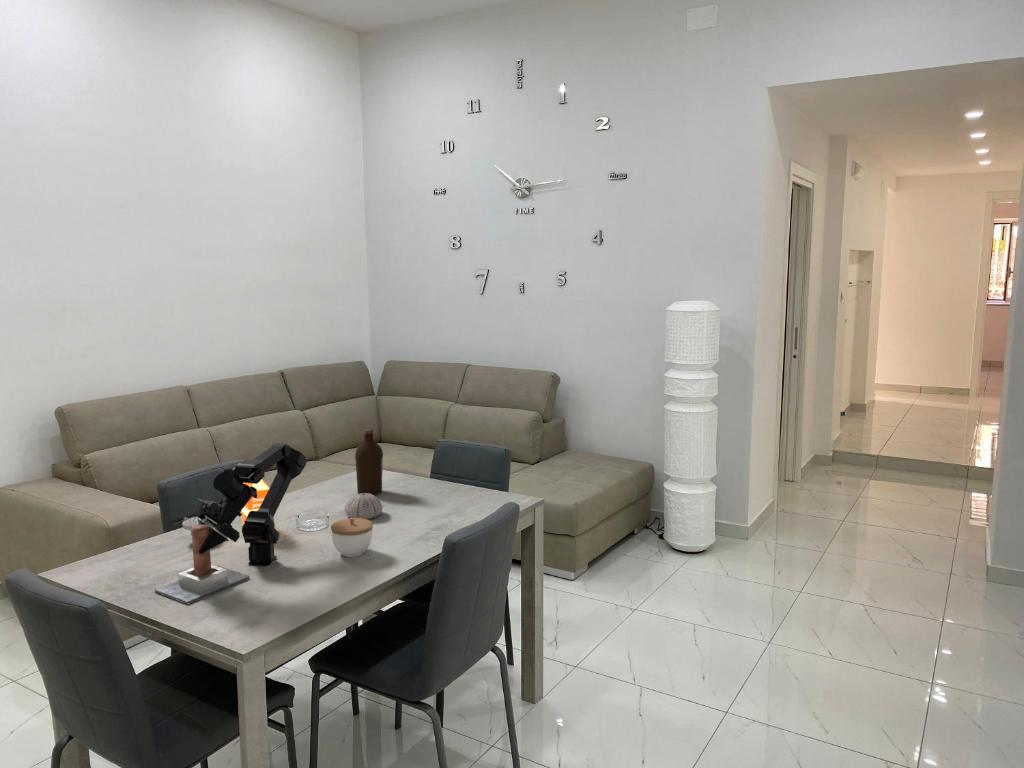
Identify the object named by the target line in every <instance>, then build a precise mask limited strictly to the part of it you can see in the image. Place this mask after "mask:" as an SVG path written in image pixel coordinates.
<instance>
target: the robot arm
mask: <svg viewBox="0 0 1024 768" xmlns="http://www.w3.org/2000/svg"><path fill="white" fill-rule="evenodd" d="M274 465H275V466H276V471H277V472H276V475H275V476H274V479H273V480H272V482H271V484H270V486H269V490H268V492H267V494H266V496H265V498H264V500H263V502H262V504H261V506H260V508H259V509H258V510H257V511H250V512H249V513H248V516H247V518H246V519H245V520H244V522H245V523H244V524H243V526H242V525H241V533H242V538H243V540H244V541H243V542H244V543H246V544H249V546H248V549H247V550H248V563H247V565H249V566H252V565H253V566H271V564H272V563H273V562H274V561H275V560H276V559H277V557H278V556H277V555H275V544H277V543H278V541H279V539H280V532H279V531H278V530H277V529H276V528H275V527H276V523H275V519H274V517H275V515H276V512H277V511H278V509H279V507H280V505H281V503H282V501H283V498H284V496H285V494H286V492H287V490H288V488H289V486H290V484H291V482H292V480H294V479H296V477H299V476H300V475H301V473H302V472H303V470H304V469H305V468H306V466H307V458H306V456H305V455H304V453H302V452H301V451H299V450H297V449H295V448H293V447H292V446H291V445H289V444H286V443H273V444H272V445H271V447H270V448H268V449H266V450H265V451H263V452H262V453H260V454H259V455H258V456H256V457H255V458H253V459H248V460H242V461H241V462H238V463H237V464H236V465H235V466H234V467H233V468H224V469H223V470H224V471H223V472H220V473H219V474H217V476H215V478H213V482H212V483H213V485H212V486H213V488H214V489H215V490H216V491H217V492H219V493H220V494H221V495H222V496H223V497H224V498H223V499H217V501H212V500H205V499H201V498H198V499H197V501H196V504H195V506H194V509H193V511H196V512H195V513H194V516H195V517H199V518H200V519H201V520H199V519H198V522H199V525H208V526H209V535H208V537H207V538H206V540H205V542H204V543H203V545H202V546H201V548H200V550H199V551H198V552H199V553H200V554H203V553H205V552H206V551H208V550H210V551H211V549H214V548H215V547H217V546H219V545H221V544H223V543H225V542H229V540H231V541H232V542H234V543H236V542H238V540H239V538H241V535H240V531H238V530H237V529H235V528H234V526H233V525H232V523H233V522H234V521H235V519H236V518H237V517H239V518H241V517H242V509H243V508H244V507H245V505H246V504H247V503H248V502H249V500H250V499H251V498H252V497H254V498H255V499H256V498H257V489H256V488H254V487H253V486H251V487H249V486H248V485H246V484H243V483H251V484H257V483H259V482H260V481H261V480H263V478H265V472H266V471H267V470H269V469H270V468H272V467H273V466H274ZM191 548H192V549H193V545H191Z"/></svg>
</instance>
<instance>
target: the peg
mask: <svg viewBox="0 0 1024 768" xmlns="http://www.w3.org/2000/svg"><path fill="white" fill-rule="evenodd" d="M191 530H192V535H191V541H192V543H191V544H192V545H193V548H192V556H193V558H192V559H193V568H194V574H195V575H206V574H209V573H210V572H211V565H212V559H211V549H210V550H208V551H206V552H205V553H203V554H200V553H199V552H198V551H199V550H200V548H201V546H202V545H203V543H204V542H205V540H206V538H207V537H208V535H209V526H208V525H196V526H193V527H192V528H191ZM191 530H190V531H191ZM192 545H191V546H192Z"/></svg>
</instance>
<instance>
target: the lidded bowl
mask: <svg viewBox="0 0 1024 768" xmlns="http://www.w3.org/2000/svg"><path fill="white" fill-rule="evenodd" d="M373 527H374V524H373V522H372V520H371V519H362V518H350V517H348V518H344V519H338V520H337V521H334V522H333V523H332V524H331V525H330V530H331V538H332V539H331V540H332V544H333V545H334V548H335V549H336V550H337V552H339V553H340V555H341V556H342V557H346V558H354V557H355V556H356V557H360V556H363V555H364V554H365V552H366V551H367V550H368V549H369V547H370V545H371V544H372V543H371V542H372V539H373ZM363 553H364V554H363ZM356 557H355V558H356Z"/></svg>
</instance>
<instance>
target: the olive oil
mask: <svg viewBox="0 0 1024 768" xmlns="http://www.w3.org/2000/svg"><path fill="white" fill-rule="evenodd" d="M373 432H374V430H373V429H372V428H371V429H370V428H367V429H365V430H364V435H363V436H364V440H362V442H360V444H359V445H357V448H356V450H355V453H354V458H355V459H354V460H355V470H356V471H355V472H356V488H357V495H358V494H361V493H369V494H372V495H374V496H378V495H381V493H383V467H384V466H383V462H384V452H383V449H382V447H381V446H380V445H379V443H377V441H375V440H374V433H373Z"/></svg>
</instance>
